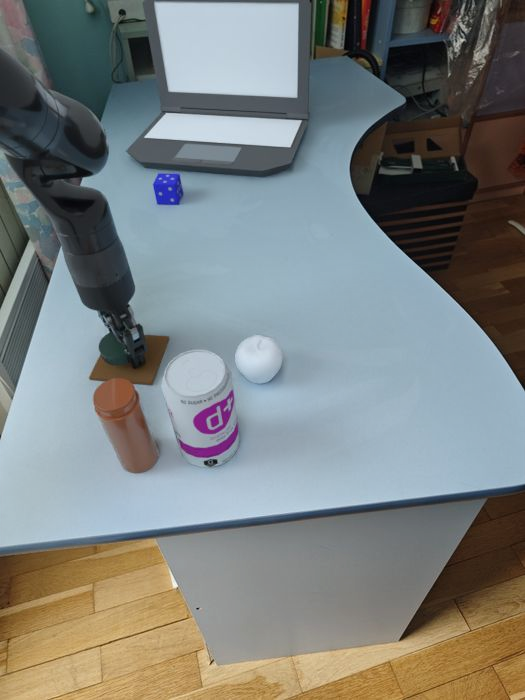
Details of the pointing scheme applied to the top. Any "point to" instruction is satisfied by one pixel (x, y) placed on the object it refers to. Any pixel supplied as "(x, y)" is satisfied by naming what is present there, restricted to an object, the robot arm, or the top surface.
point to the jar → (126, 424)
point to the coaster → (135, 376)
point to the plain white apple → (258, 358)
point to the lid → (113, 350)
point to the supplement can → (202, 407)
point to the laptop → (227, 85)
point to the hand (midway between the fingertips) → (129, 353)
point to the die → (168, 188)
